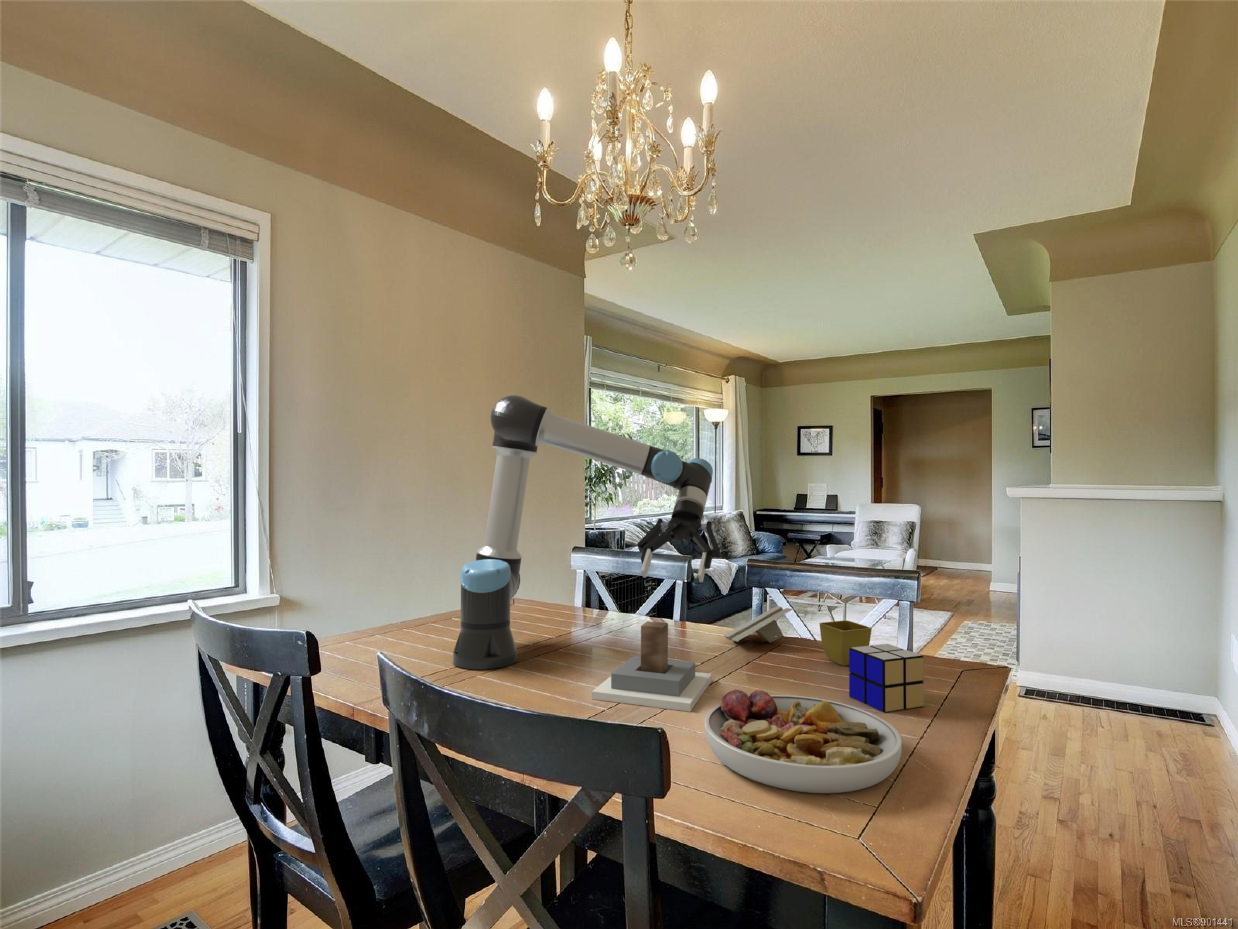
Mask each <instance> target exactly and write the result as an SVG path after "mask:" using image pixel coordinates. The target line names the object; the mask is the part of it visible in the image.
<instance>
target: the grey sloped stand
mask: <svg viewBox="0 0 1238 929" xmlns="http://www.w3.org/2000/svg"><path fill="white" fill-rule="evenodd" d="M793 610H794V609H793V608H789V607H786V608H784V609H783V607H782V606H779V605H775V607H772V608H771V609H769V610H767V611H764V612H763V613H761V614H760V615H758V616H756V617H754V618H753V619H750V620H749V621H746V622H745V623H743V624H741V625H740V626H738V627H736V628H734V629H733V630H731V631H729V632H726V633H725V634H724V637H726V638H728V639H729V640H730V641H731V642H732V643H735V642H736V643H737V642H740V640H742V639H743V638H745V637H747V636H749V635H752V634H753V633H756V634H758V635H759V636H760V637H761V638H762V639H763V640H764V641H766V642H767V643H770V644H771V643H773V642H775V641H777V640H778V639H780V638H781V637H784V634H783V632H782V630H781V628H780V626H779V625H778V622H777V621H776V620H777V619H779V618H780V617H783V616H784V615H786V614H787V613H789V612H791V611H793ZM736 630H739V631H736ZM775 636H777V637H775Z"/></svg>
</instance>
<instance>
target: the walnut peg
mask: <svg viewBox="0 0 1238 929" xmlns="http://www.w3.org/2000/svg"><path fill="white" fill-rule="evenodd" d="M668 640H669V622H660V621H650V620H648V621H646V622H645V623H643V624H642V625H640V657H641V671H644V672H653V673H662V674H666V673H667V672H668V660H669V659H668V658H669V641H668Z"/></svg>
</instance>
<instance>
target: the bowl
mask: <svg viewBox="0 0 1238 929" xmlns="http://www.w3.org/2000/svg"><path fill="white" fill-rule="evenodd" d="M749 694H750V695H749ZM749 694H747V692H745V691H743V690H739V689H733V690H731V691H728V692H727V693H726V694H724V695H723V696H722V697H721V699H720V701H721V702H720V704H717V705H716V706H715V707H713V708H711V709H710V710H709V711H708V712H707V713H706V716H705V718H704V735H705V739H706V740H707V741H706V742H707V744H708V746H709V749H711V751H712V752H713V753H714V755H715V757H717V758H718V760H719V761H720V762H722V763H723V764H724V765H725V766H727V767H728V768H729V769H731V770H732V771H734V772H736V773H737V774H739V775H741V776H742V777H746V778H747V779H749V780H752V781H754V782H757V783H760V784H762V785H766V786H769V787H773V788H778V789H782V790H786V791H787V790H788V791H793V792H799V793H807V794H808V793H809V794H811V793H812V794H840V793H849V792H856V791H859V790H863V789H867V788H869V787H873V786H875V785H876V784H879V783H880V782H882V781H884V780H885V779H886V778H888V777H889V776H890V775H891V774H892V773H893V772H894V771H895V769H896V768H897V766H898V765H899V762H900V760H901V757H902V751H903V741H902V737H901V735H900V733H899V731H898V730H897V728H895V727H894V726H893V725H891V723H889V722H888V721H887V720H885V719H883V718H882V717H879V716H878V715H875V714H874V713H871V712H868V711H867V710H864V709H861V708H858V707H856V706H853V705H851V704H850V705H849V704H846V703H842V702H838V701H833V700H829V699H822V698H818V697H817V698H816V697H810V696H802V695H801V696H800V695H787V694H783V695H782V694H770V693H768V692H767V691H764V690H754V691H752V692H751V693H749Z"/></svg>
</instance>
